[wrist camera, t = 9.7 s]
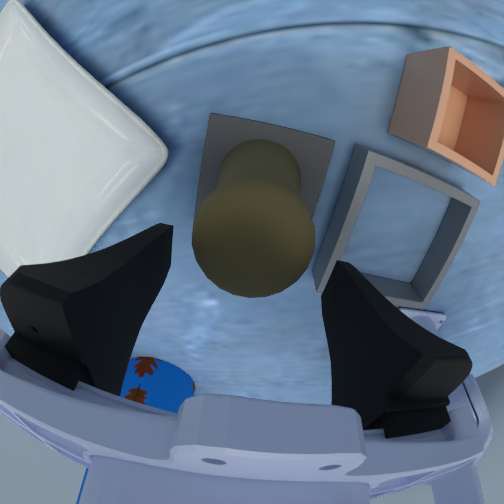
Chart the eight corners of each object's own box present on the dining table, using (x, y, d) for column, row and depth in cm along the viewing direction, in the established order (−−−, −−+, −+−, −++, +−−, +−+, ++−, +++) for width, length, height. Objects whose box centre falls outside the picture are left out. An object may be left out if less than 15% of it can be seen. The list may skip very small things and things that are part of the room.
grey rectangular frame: (413, 290, 25) (424, 309, 22) (312, 270, 24) (316, 292, 22) (461, 188, 19) (480, 201, 16) (355, 143, 18) (368, 150, 16)
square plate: (-42, 175, 20) (-59, 185, 17) (33, -3, 10) (9, -6, 7) (60, 303, 30) (46, 322, 26) (188, 146, 20) (172, 156, 16)
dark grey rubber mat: (301, 245, 23) (302, 248, 22) (194, 222, 22) (193, 226, 22) (333, 140, 18) (335, 141, 18) (212, 113, 18) (210, 113, 17)
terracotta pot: (451, 163, 18) (494, 186, 13) (387, 132, 18) (426, 147, 12) (469, 93, 14) (516, 100, 9) (406, 55, 14) (449, 46, 9)
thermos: (197, 402, 38) (172, 546, 17) (134, 388, 38) (94, 521, 17) (193, 364, 33) (155, 552, 11) (118, 348, 32) (56, 511, 11)
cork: (218, 214, 21) (180, 313, 12) (219, 137, 18) (165, 178, 9) (296, 219, 21) (316, 322, 12) (305, 142, 18) (346, 189, 9)
